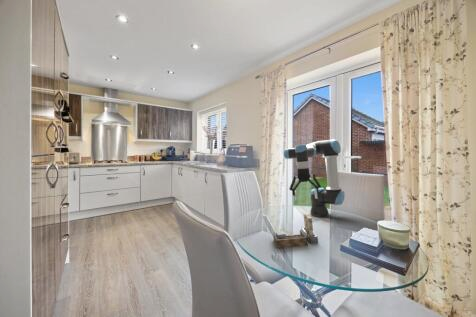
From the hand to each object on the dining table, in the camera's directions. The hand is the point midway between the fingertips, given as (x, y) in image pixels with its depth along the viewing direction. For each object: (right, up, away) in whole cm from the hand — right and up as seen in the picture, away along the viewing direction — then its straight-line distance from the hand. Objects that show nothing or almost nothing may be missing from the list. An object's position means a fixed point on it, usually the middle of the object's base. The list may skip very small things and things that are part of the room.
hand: (306, 199), depth 131 cm
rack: (-12, -27, -3) cm, 30 cm away
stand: (+2, -26, 0) cm, 26 cm away
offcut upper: (-17, -25, -1) cm, 30 cm away
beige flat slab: (+3, -26, 0) cm, 26 cm away
